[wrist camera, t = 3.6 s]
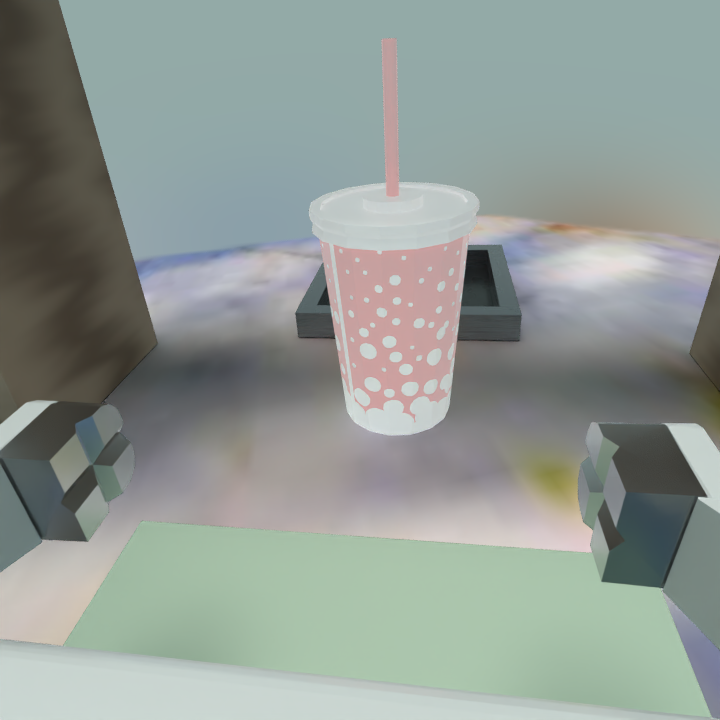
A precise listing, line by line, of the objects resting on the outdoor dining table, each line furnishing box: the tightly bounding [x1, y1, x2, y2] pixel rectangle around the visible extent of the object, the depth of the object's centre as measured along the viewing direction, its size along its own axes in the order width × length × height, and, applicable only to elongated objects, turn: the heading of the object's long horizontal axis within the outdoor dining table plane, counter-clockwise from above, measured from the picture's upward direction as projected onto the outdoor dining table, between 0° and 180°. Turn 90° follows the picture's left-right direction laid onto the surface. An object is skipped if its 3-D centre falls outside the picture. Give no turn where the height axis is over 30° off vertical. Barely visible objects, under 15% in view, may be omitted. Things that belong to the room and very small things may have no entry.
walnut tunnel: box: [0, 0, 720, 424], centre depth 18 cm, size 10×31×22 cm, turn 82°
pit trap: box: [295, 245, 522, 341], centre depth 33 cm, size 11×12×2 cm
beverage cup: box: [309, 38, 479, 436], centre depth 20 cm, size 6×6×14 cm
